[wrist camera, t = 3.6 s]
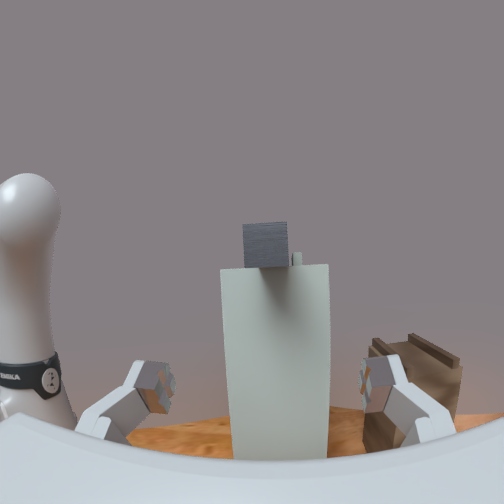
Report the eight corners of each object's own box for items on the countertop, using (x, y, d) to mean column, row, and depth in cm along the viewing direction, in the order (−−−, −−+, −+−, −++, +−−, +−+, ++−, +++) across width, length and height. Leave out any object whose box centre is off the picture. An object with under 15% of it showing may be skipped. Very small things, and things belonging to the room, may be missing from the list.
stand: (237, 490, 28) (219, 256, 29) (251, 435, 42) (242, 259, 43) (323, 489, 27) (327, 250, 28) (316, 433, 40) (314, 256, 42)
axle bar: (244, 268, 20) (242, 224, 20) (268, 267, 43) (267, 246, 43) (289, 266, 19) (286, 221, 20) (289, 266, 42) (288, 245, 42)
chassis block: (382, 494, 23) (402, 369, 24) (362, 440, 36) (368, 338, 37) (437, 480, 22) (463, 357, 23) (406, 433, 35) (416, 332, 36)
